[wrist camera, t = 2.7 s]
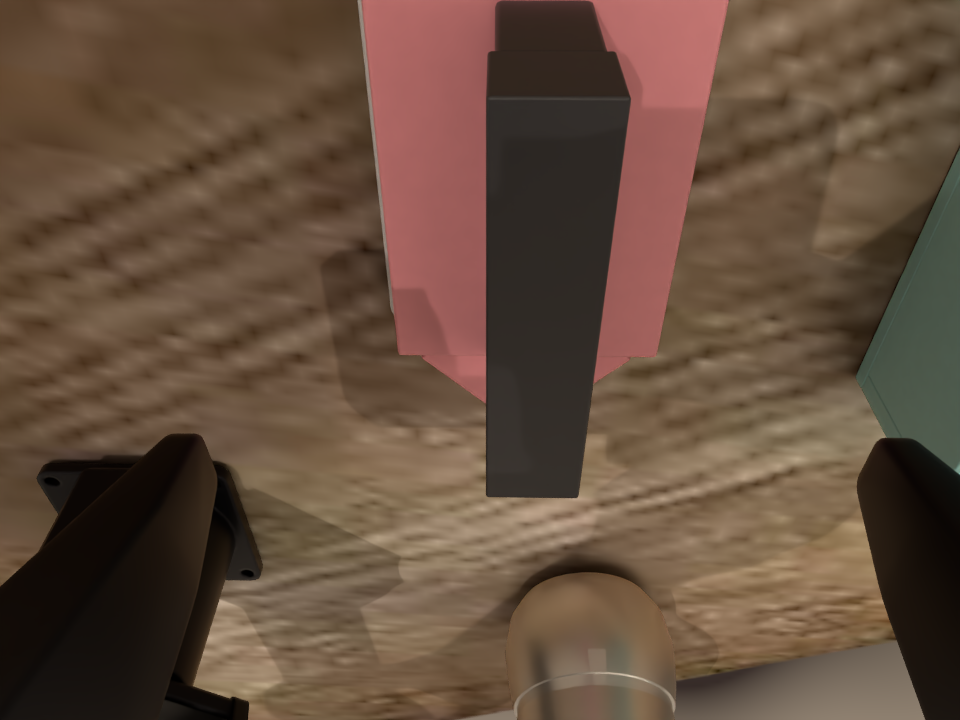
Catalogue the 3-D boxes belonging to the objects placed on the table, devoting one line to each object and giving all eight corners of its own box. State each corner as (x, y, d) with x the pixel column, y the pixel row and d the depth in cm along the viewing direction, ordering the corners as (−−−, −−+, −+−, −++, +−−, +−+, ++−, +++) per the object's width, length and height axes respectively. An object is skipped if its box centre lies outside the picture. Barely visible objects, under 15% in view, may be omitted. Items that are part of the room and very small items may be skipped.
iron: (356, -86, 14) (268, 55, 9) (720, -86, 14) (859, 56, 9) (403, 381, 23) (373, 602, 17) (634, 384, 23) (677, 607, 17)
